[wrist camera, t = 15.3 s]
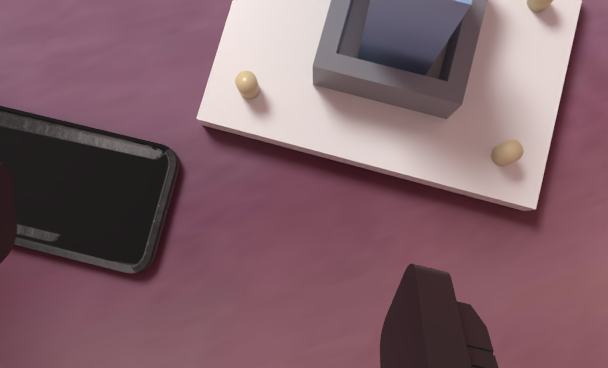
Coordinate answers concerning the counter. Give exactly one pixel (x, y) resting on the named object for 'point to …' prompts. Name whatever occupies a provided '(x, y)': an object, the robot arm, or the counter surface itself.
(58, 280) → the counter surface
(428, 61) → the block
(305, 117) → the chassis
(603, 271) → the counter surface
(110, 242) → the phone
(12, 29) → the counter surface
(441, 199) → the counter surface
